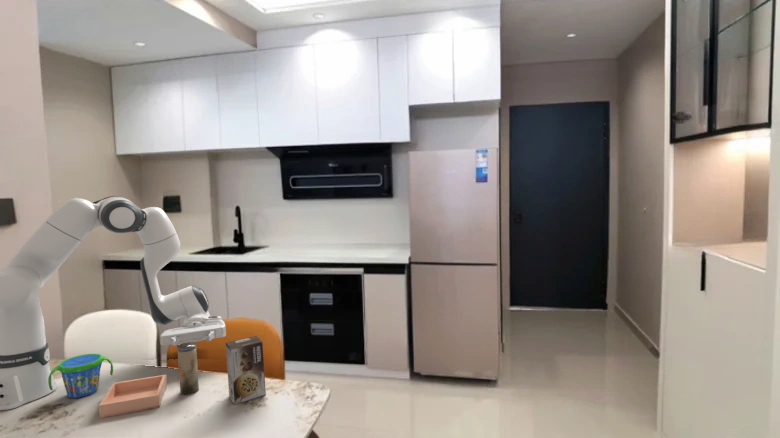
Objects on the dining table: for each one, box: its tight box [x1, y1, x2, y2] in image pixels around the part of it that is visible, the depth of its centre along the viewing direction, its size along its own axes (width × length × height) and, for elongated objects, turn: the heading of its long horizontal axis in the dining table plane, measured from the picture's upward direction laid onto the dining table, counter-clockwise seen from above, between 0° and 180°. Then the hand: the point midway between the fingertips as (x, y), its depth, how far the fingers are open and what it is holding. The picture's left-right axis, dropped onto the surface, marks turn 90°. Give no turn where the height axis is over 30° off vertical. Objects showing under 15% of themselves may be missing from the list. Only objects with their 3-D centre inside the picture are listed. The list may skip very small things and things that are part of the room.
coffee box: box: [225, 335, 267, 405], centre depth 120 cm, size 9×6×16 cm
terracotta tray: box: [98, 374, 168, 419], centre depth 119 cm, size 14×14×4 cm
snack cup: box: [48, 353, 114, 399], centre depth 124 cm, size 16×10×10 cm
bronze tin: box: [176, 342, 200, 396], centre depth 124 cm, size 5×5×14 cm
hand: (192, 341), depth 135 cm, fingers open, 8 cm apart
